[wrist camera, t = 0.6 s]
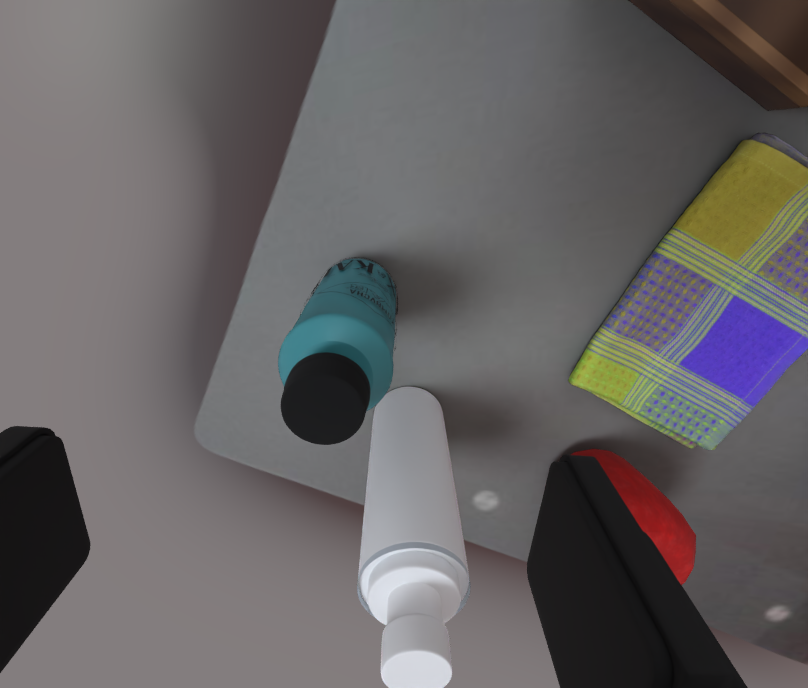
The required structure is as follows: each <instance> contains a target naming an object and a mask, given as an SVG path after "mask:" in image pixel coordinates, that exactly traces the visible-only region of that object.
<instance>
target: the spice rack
mask: <svg viewBox="0 0 808 688" xmlns="http://www.w3.org/2000/svg"><path fill="white" fill-rule="evenodd" d="M629 1H630V2H631V3H633V4H634V5H635V6H637V7H638V8H639V9H640V10H642V11H643V12H644V13H645V14H647V15H648V16H649V17H650V18H652V19H653V20H654V21H655V22H657V23H658V24H659V25H660V26H662V27H663V28H664V29H666V30H667V31H668V32H669V33H671V34H672V35H673V36H674V37H676V38H677V39H678V40H679V41H681V42H682V43H683V44H684V45H686V46H687V47H688V48H689V49H691V50H692V51H693V52H695V53H696V54H697V55H698V56H700V57H701V58H702V59H703V60H705V61H706V62H707V63H708V64H710V65H711V66H712V67H713V68H715V69H716V70H717V71H718V72H720V73H721V74H722V75H723V76H725V77H726V78H727V79H729V80H730V81H731V82H732V83H734V84H735V85H736V86H737V87H739V88H740V89H741V90H742V91H744V92H745V93H746V94H747V95H749V96H750V97H751V98H752V99H754V100H755V101H756V102H758V103H759V104H760V105H761V106H763V107H764V108H765V109H766V110H768V111H770V110H780V109H790V108H800V107H808V0H629Z"/></svg>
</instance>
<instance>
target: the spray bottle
mask: <svg viewBox="0 0 808 688" xmlns="http://www.w3.org/2000/svg"><path fill="white" fill-rule="evenodd" d="M469 581H470V580H469V572H468V566H467V560H466V553H465V547H464V540H463V534H462V528H461V521H460V515H459V509H458V502H457V496H456V490H455V484H454V478H453V472H452V466H451V460H450V453H449V447H448V441H447V435H446V429H445V423H444V417H443V411H442V408H441V405H440V403H439V402H438V400H437V399H436V398H435V397H434V396H433V395H432V394H431V393H429V392H427V391H426V390H423V389H421V388H417V387H400V388H396V389H394V390H392V391H390V392H388V393H386V394H385V396H384V397H383V398H382V400H381V401H380V402H379V403H378V404H377V405H376V407H375V410H374V416H373V426H372V436H371V447H370V457H369V467H368V478H367V488H366V498H365V509H364V519H363V530H362V541H361V552H360V564H359V574H358V585H359V587H358V585H357V592H358V597H359V600H360V602H361V604H362V605H363V607H364V608H365V609H366V610H367V611H368V612H369V613H370V614H371V615H372V616H374V617H375V618H376V619H377V620H379V621H380V622H381V623H383V624H385V625H386V627H385V629H384V631H383V634H382V647H381V648H382V649H381V677H382V680H383V681H384V683H385V684H386V685H387V686H388V687H389V688H443V687H445V685H447V684H448V682H449V681H450V679H451V676H452V661H451V651H450V641H449V633H448V630H447V628H446V627H445V625H444V623H446V622H447V621H448V620H450V619H451V618H452V617H453V616H454V615H455V614H457V613H458V612H459V611H460V610H461V609H462V608H463V606H464V605H465V603H466V602H467V600H468V598H469V595H470V582H469ZM468 585H469V588H468ZM467 589H468V591H467ZM359 590H360V591H359ZM466 592H467V593H466ZM360 593H361V594H360ZM465 594H466V595H465ZM361 595H362V596H361ZM464 596H465V597H464ZM362 597H363V598H364V599H363V598H362ZM463 597H464V598H463ZM462 599H463V600H462ZM364 600H365V601H366V602H367V603H368V604H367V603H366V602H365V601H364ZM461 600H462V601H461Z"/></svg>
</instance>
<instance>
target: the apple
mask: <svg viewBox="0 0 808 688" xmlns="http://www.w3.org/2000/svg"><path fill="white" fill-rule="evenodd" d="M571 455H581V456H593V457H595V458H596V459H597V460H598V462H599V463H600V465H601V466H602V468H603V469H604V471H605V473H606V474H607V476H608V477H609V479H610V480H611V482H612V484H613V485H614V487H615V488H616V490H617V491H618V493H619V495H620V496H621V498H622V499H623V501H624V502H625V504H626V506H627V507H628V509H629V510H630V512H631V513H632V515H633V517H634V518H635V520H636V521H637V523H638V524H639V526H640V528H641V529H642V531H644V532H645V533H647V535H648V536H649V537H650V538H651V539H652V541H653V542H654V544H655V545H656V547H657V548H658V550H659V551H660V553H661V555H662V556H663V558H664V559H665V561H666V562H667V564H668V565H669V567H670V569H671V570H672V572H673V573H674V575H675V576H676V578H677V579H678V581H679V582H680V584H681V585H682V584H683V583H684V582H685V581H686V579H687V578H688V576H689V574H690V573H691V571H692V569H693V567H694V560H695V553H696V535H695V533H694V532H693V530H692V529H691V527H690V526H689V524H688V523H687V521H686V520H685V518H684V517H683V515H682V514H681V513H680V512H679V510H678V509H677V508H676V507H675V506H674V505H673V504H672V503H671V501H670V500H669V499H668V498H667V497H666V496H665V495H663V494H662V493H661V492H660V491H659V490H658V489H657V488H656V487H655V486H654V485H653V484H652V483H651V482H650V481H649V480H648V479H647V478H646V477H645V476H644V475H642V474H641V473H640V472H639V471H638V470H637V469H635V468H634V467H633V466H632V465H631V464H630V463H628V462H627V461H626V460H625V459H624V458H622V457H620V456H618V455H616V454H615V453H613V452H611V451H606V450H599V449H589V450H584V451H578V452H574V453H572V454H571ZM545 487H546V486H545Z"/></svg>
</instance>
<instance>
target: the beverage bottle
mask: <svg viewBox="0 0 808 688" xmlns="http://www.w3.org/2000/svg"><path fill="white" fill-rule="evenodd" d="M353 258H355V259H348V260H347V258H346V260H344V259H343V261H342V262H341V260H340V263H339V262H338V264H337V263H336V265H335V266H333V267H331V268H330V267H329V268H330V269H329V270H328V269H327V271H328V272H327V273H326V272H325V273H326V275H325V276H324V278H323V280H322V281H321V283H320V281H319V282H318V283H320V284H319V285H318V284H317V285H316V287H317V286H318V287H317V288H316V287H315V288H316V289H315V288H314V290H316V291H315V292H313V295H312V296H310V297H311V298H310V299H309V301H307V300H306V301H307V302H308V303H307V305H306V306H305V308H304V310H303V312H302V314H301V316H300V317H299V319H298V321H297V322H296V324H295V326H294V327H293V329H292V330H291V331H290V332H289V333H288V335H287V336H286V338H285V340H284V342H283V344H282V346H281V349H280V352H279V358H278V367H279V373H280V377H281V380H282V382H283V385H284V392H283V395H282V399H281V412H282V416H283V419H284V421H285V423H286V425H287V426H288V428H289V429H290V430H291V431H292V432H293V433H294V434H295V435H297V436H298V437H300V438H301V439H303V440H305V441H308V442H311V443H314V444H321V445H330V444H336V443H340V442H342V441H345V440H347V439H348V438H350V437H351V436H353V435H354V434H355V433H356V432H357V431H358V429H359V428H360V426H361V425H362V423H363V420H364V417H365V413H366V411H368V410H370V409H371V408H372V407H374V406H375V405H376V404H378V403H379V402H380V401H381V400H382V398H383V397H384V396H385V394H386V393H387V391H388V389H389V387H390V384H391V381H392V376H393V347H394V340H395V339H394V338H395V337H394V336H395V334H396V333H395V331H396V330H397V329H396V330H395V315H396V314H395V313H396V310H397V314H398V308H397V309H396V291H395V289H396V288H395V286H396V285H395V286H394V284H395V283H393V282H395V281H392V279H391V276H389V275H388V273H387V271H386V270H385V269H383V268H382V267H383V266H382V267H381V266H379V265H378V264H376V263H377V262H376V263H374V262H375V261H374V262H372V261H373V260H372V261H369V260H370V259H369V260H366V259H367V258H366V259H358V258H360V257H357V259H356V257H353ZM389 274H390V273H389ZM314 290H313V291H314ZM397 292H398V291H397ZM311 294H312V292H311ZM307 299H308V298H307ZM305 303H306V302H305ZM397 305H398V296H397ZM397 307H398V306H397ZM300 313H301V312H300ZM396 341H397V340H396ZM395 349H396V348H395Z"/></svg>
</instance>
